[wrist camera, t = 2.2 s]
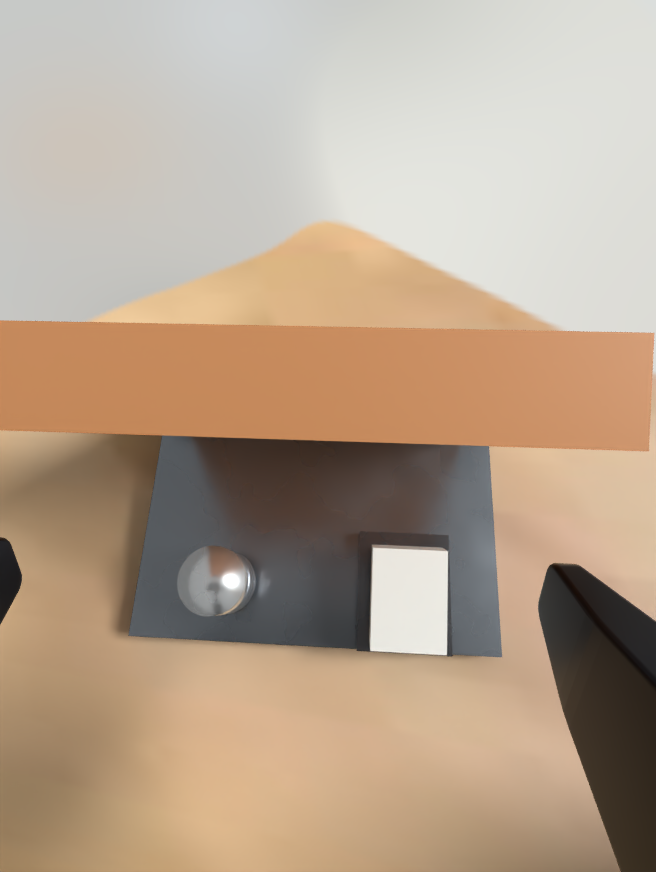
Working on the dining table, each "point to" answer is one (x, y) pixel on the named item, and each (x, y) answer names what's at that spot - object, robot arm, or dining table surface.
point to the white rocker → (408, 599)
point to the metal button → (216, 581)
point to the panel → (317, 536)
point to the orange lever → (329, 383)
